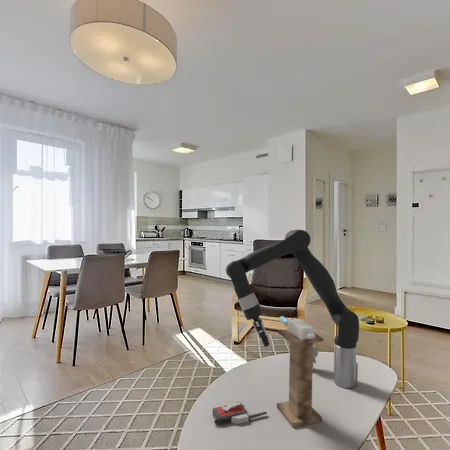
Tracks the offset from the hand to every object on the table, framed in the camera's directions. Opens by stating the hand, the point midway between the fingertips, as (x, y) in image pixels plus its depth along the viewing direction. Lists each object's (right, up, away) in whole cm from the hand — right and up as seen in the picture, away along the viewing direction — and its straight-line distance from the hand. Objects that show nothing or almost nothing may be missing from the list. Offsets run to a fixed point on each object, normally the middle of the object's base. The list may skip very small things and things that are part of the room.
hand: (266, 343), depth 124 cm
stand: (+10, -22, -11) cm, 27 cm away
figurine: (+24, -23, +25) cm, 42 cm away
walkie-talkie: (-12, -23, -12) cm, 28 cm away
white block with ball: (+10, +8, -7) cm, 15 cm away
